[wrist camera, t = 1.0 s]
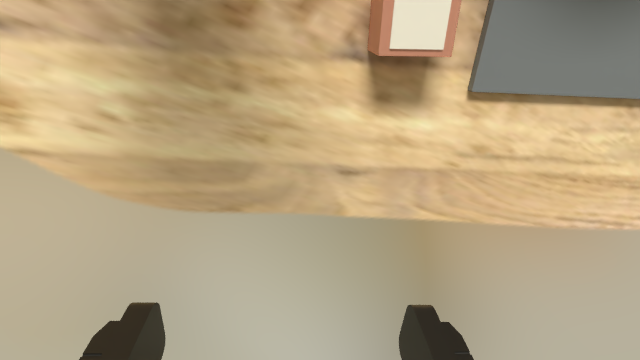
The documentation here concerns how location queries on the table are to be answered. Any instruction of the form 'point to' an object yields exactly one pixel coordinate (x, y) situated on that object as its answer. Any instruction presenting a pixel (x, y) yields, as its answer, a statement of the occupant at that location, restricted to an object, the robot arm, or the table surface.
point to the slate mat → (560, 48)
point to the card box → (413, 27)
